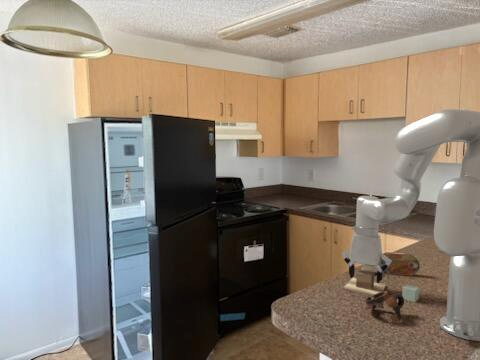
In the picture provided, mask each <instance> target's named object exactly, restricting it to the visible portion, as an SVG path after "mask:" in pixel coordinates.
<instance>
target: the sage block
mask: <svg viewBox="0 0 480 360" xmlns="http://www.w3.org/2000/svg"><path fill="white" fill-rule="evenodd" d="M401 295H402V296H403V298H404V301H408V302H413V303H416V302H417V301H418V300H419V299H420V286H416V285H412V284H408V283H406V284H405V285H403V286H402V291H401Z"/></svg>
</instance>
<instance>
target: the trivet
mask: <svg viewBox="0 0 480 360" xmlns="http://www.w3.org/2000/svg"><path fill="white" fill-rule="evenodd" d="M386 287H387V284H386V283H381V282H379V283H377V281H374V286H373V288H372V289H371V290H368V289H364V288H359V287H356V277H352V278H351V279H350V280H349V281H347V283H346V284H345V285H344V286H343V287H342V290H344V291H349V292H353V293H357V294H360V295H366V296H369V297H373V295H374V294H377V293H379V292H383V291H385V288H386Z"/></svg>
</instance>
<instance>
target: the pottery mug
mask: <svg viewBox="0 0 480 360" xmlns="http://www.w3.org/2000/svg"><path fill="white" fill-rule="evenodd" d="M371 297H373V298H371ZM364 302H365V303H366V305H365V309H367V310H370V311H371V312H374V310H375V309H377V308H379V309H384V307H385V306H384V302H385V303H386V305H387V306H388V307H389V308H391V309H392V310H393V311H394V313H393V314H392V315H390V316H389V317H390V320H391V323H392V325H394V324H397V323H398V322H400V321H401V320H402V317H403V316H402V314H401V309H402V308H403V307H404V304H405V299H404V298H403V296H402V293H401V294H400V293H394V294H392V295H390V294H389V292H388V291H386V290H383V291H382V292H379V293H377V294H374V295H373V296H368V297H367V298H365V300H364Z"/></svg>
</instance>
